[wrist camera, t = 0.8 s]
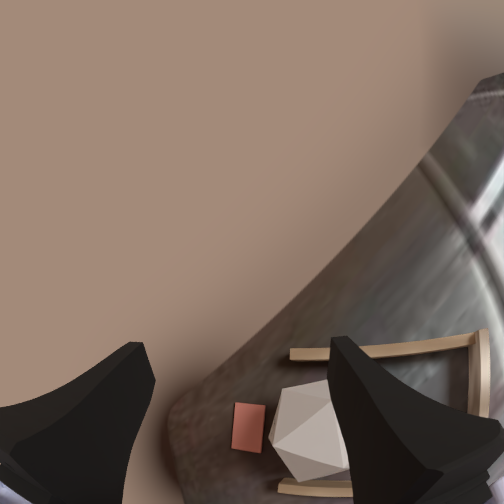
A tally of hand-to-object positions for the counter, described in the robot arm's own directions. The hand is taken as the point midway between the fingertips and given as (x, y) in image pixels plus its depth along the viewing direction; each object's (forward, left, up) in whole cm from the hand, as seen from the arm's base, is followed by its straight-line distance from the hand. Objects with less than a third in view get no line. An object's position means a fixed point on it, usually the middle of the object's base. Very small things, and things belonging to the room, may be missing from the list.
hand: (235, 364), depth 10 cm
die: (-5, -2, -17) cm, 17 cm away
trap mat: (-6, +5, -16) cm, 18 cm away
